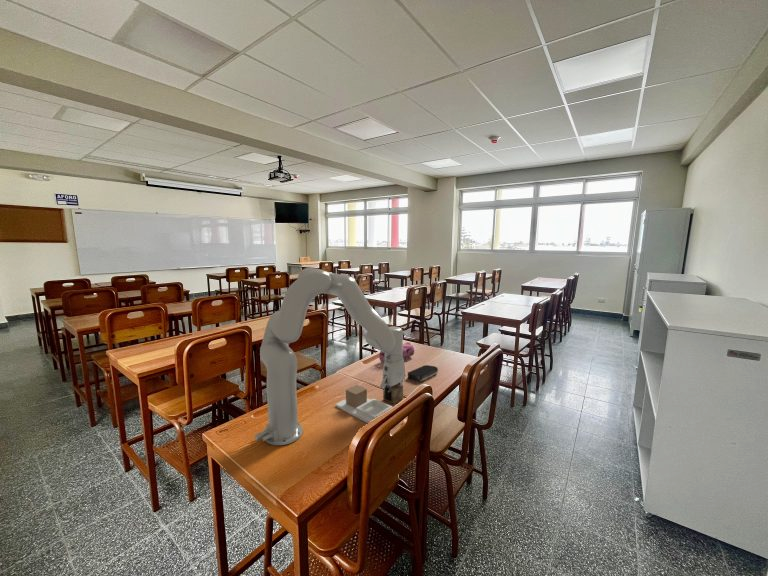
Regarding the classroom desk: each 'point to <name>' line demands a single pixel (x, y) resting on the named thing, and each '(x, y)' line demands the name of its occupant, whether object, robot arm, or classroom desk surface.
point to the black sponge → (422, 373)
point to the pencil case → (407, 352)
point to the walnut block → (395, 393)
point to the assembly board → (362, 404)
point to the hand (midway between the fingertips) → (393, 396)
